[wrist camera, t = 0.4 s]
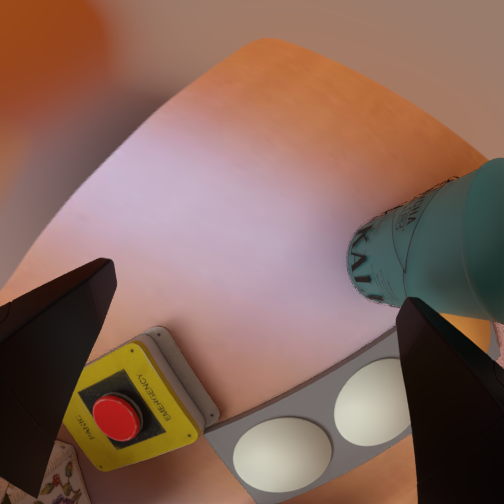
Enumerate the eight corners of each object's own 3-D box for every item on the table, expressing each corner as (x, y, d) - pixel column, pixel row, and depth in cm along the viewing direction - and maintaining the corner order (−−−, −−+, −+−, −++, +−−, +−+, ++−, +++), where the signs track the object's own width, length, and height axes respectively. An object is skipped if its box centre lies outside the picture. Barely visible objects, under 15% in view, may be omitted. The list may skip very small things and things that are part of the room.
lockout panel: (494, 353, 22) (502, 355, 21) (262, 502, 21) (262, 511, 20) (467, 269, 23) (476, 268, 22) (204, 429, 22) (202, 436, 21)
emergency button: (220, 441, 18) (80, 485, 18) (225, 415, 23) (99, 463, 22) (146, 329, 19) (21, 398, 18) (164, 320, 23) (47, 385, 23)
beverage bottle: (421, 250, 23) (636, 203, 3) (384, 319, 23) (613, 377, 3) (362, 205, 24) (560, 64, 4) (320, 275, 23) (558, 257, 3)
